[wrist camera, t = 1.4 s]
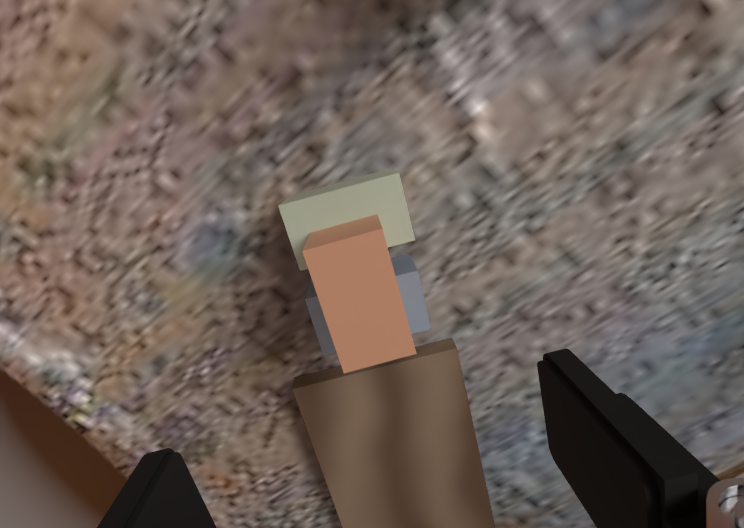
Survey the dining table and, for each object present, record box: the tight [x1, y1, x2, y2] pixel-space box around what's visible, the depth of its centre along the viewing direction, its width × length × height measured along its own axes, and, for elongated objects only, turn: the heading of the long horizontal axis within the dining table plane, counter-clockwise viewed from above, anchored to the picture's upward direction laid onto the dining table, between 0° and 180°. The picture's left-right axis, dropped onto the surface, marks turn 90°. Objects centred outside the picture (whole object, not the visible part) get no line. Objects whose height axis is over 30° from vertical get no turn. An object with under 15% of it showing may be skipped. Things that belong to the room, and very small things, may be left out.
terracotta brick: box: [302, 214, 417, 373], centre depth 23 cm, size 7×4×4 cm, turn 16°
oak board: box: [292, 338, 495, 528], centre depth 32 cm, size 12×19×2 cm, turn 14°
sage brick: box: [278, 168, 415, 271], centre depth 25 cm, size 7×4×4 cm, turn 105°
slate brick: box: [305, 254, 431, 356], centre depth 27 cm, size 7×4×4 cm, turn 104°
